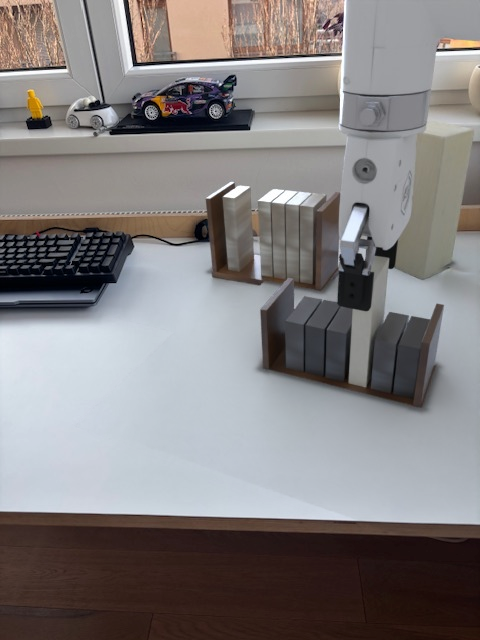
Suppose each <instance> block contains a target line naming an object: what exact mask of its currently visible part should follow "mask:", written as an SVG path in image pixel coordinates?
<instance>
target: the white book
mask: <svg viewBox="0 0 480 640" xmlns="http://www.w3.org/2000/svg"><path fill="white" fill-rule="evenodd" d="M388 267H389V258H386V257H379V256H374V260H373V264H372V268H371V272H374V281H373V292H372V302H371V308H370V309H369V311H361V310H356V309H353V313H352V330H351V348H350V366H349V383H350V384H354V385H358V386H362V387H366V386H367V384H368V382H369V380H370V378H371V376H372V368H373V356H374V344H375V339H376V337H377V335H378V333H379V331H380V329H381V327H382V325H383V323H384V321H385V319H384V318H385V309H386V299H387V286H388V277H389V276H388V275H389V269H388Z"/></svg>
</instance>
